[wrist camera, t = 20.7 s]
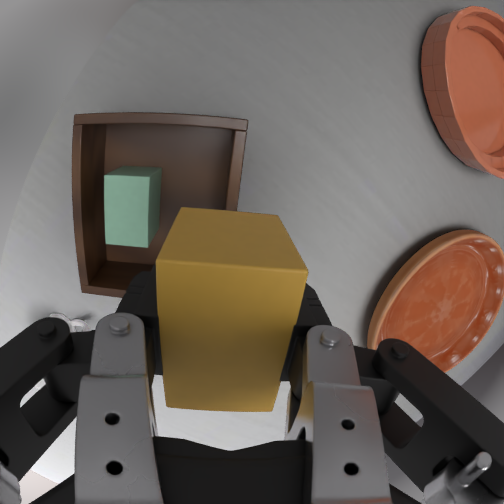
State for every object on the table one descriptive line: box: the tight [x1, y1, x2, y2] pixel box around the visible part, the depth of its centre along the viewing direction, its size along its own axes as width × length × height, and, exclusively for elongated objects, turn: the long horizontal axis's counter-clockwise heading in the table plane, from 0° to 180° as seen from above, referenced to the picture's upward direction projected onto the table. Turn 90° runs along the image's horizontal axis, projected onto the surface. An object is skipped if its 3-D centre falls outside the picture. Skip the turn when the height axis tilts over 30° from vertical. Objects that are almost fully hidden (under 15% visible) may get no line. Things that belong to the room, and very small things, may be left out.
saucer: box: [367, 230, 504, 373], centre depth 33 cm, size 23×23×4 cm
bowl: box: [421, 6, 504, 179], centre depth 21 cm, size 19×19×4 cm
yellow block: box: [156, 207, 308, 412], centre depth 10 cm, size 6×4×4 cm, turn 173°
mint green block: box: [104, 166, 162, 248], centre depth 23 cm, size 6×4×4 cm, turn 172°
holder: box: [72, 112, 248, 298], centre depth 23 cm, size 15×13×6 cm
